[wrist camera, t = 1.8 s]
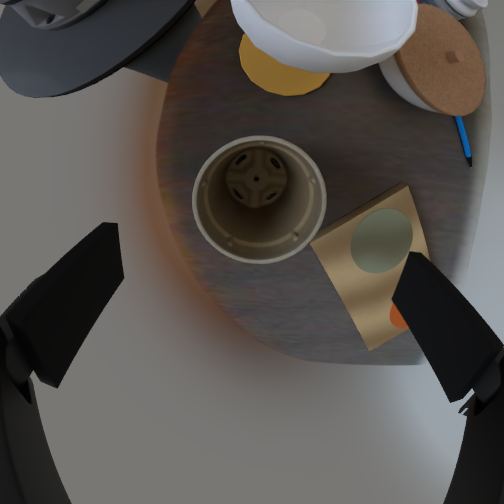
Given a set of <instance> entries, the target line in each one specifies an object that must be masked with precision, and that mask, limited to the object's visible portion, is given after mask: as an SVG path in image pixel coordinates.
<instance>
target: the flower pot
mask: <svg viewBox="0 0 504 504" xmlns="http://www.w3.org/2000/svg"><path fill="white" fill-rule="evenodd" d="M242 155H245V156H246V159H245V160H243V161H241V162H240V163H239V164H238V165H236V164H235V163H236V162H237V160H238V159H239V158H240V157H241V156H242ZM272 158H275V159H276V160H277V162H278V164H279V165H280V168H278V169H277V168H276V167H275V166H274V165H273V163H272V162H271V161H270V160H271V159H272ZM255 177H258V178H259V180H258V181H255ZM233 189H236V191H237V192H238V193H239V194H240V195H241V196H242V197H243V198H242V199H240V198H238V197H237V196H236V195H235V194H234V192H233ZM274 192H275V193H276V194H275V195H274V196H273V197H272V198H271V199H267V197H268V196H270V194H272V193H274ZM326 203H327V194H326V187H325V183H324V180H323V177H322V175H321V173H320V170H319V169H318V167H317V165H316V164H315V162H314V161H313V160H312V159H311V158H310V157H309V155H308V154H307V153H306V152H304V151H303V150H302V149H301V148H299V147H298V146H296V145H294V144H293V143H291V142H289V141H286V140H284V139H280V138H277V137H272V136H249V137H244V138H240V139H237V140H234V141H232V142H230V143H228V144H226V145H224V146H223V147H221V148H220V149H219V150H217V151H216V152H215V153H214V154H213V155H212V156H211V157H210V158H209V159H208V160H207V161H206V162H205V163H204V165H203V166H202V168H201V170H200V171H199V173H198V176H197V178H196V181H195V184H194V188H193V194H192V207H193V213H194V218H195V220H196V223H197V225H198V227H199V229H200V231H201V233H202V234H203V236H204V237H205V238H206V239H207V240H208V242H209V243H210V244H211V245H212V246H214V247H215V248H216V249H217V250H219V251H220V252H221V253H223V254H225V255H226V256H229V257H231V258H233V259H235V260H238V261H242V262H246V263H254V264H266V263H273V262H278V261H280V260H284V259H286V258H288V257H290V256H292V255H295V254H296V253H297V252H299V251H300V250H302V249H303V248H304V247H305V246H306V245H307V244H308V243H309V242H310V241H311V240H312V239H313V237H314V236H315V235H316V233H317V232H318V230H319V228H320V226H321V224H322V222H323V219H324V215H325V212H326Z"/></svg>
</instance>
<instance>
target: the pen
mask: <svg viewBox="0 0 504 504" xmlns="http://www.w3.org/2000/svg"><path fill="white" fill-rule="evenodd" d="M455 119H456V122H457V126H458V129H459V132H460V136H461V139H462V143H463V147H464V151H465V155H466V158H467V160H468V163H469V165H470V167H471V168H472V155H471V151H470V146H469V142H468V139H467V135H466V131H465V128H464V124H463V121H462V118H461V116H455Z"/></svg>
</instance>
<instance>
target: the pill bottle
mask: <svg viewBox="0 0 504 504" xmlns="http://www.w3.org/2000/svg"><path fill="white" fill-rule="evenodd" d="M416 2H417V4H428V5H432V6H435V7H438V8H440V9H442V10H444V11H445V12H447V13H449V14H450V15H452V16H453V17H454V18H455V19H456V20H460V19H464V18H469V17H472V16H474V15H475V14H476V13H477V9H478V10H479V9H483V8H486V7H487V5H488V1H487V0H416Z"/></svg>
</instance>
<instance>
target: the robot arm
mask: <svg viewBox="0 0 504 504" xmlns="http://www.w3.org/2000/svg"><path fill="white" fill-rule="evenodd" d="M107 1H108V0H0V4H4V5H9V6H11V7H12V8H13V9H14V10H15V11H16V12H17V13H18V14H19V15H20V16H22V17H23V18H24V19H25V20H26V21H27V22H28V23H29V24H30V25H31V26H32V27H34V28H37V29H42V30H46V31H57V30H61V29H65V28H67V27H70V26H72V25H74V24H76V23H78V22H80V21H82V20H83V19H85V18H86V17H88V16H89V15H91V14H92V13H94V12H95V11H96V10H98V9H99V8H100V7H101V6H102V5H104V4H105V3H106V2H107ZM123 279H124V273H123V266H122V259H121V250H120V242H119V232H118V224H117V223H108V222H103V223H101V224H100V225H99V226H98V227H96V228H95V229H94V230H93V231H92V232H90V233H89V234H88V235H87V236H86V237H85V238H83V239H82V240H81V241H80V242H79V243H78V244H77V245H75V246H74V247H73V248H72V249H71V250H70V251H69V252H67V253H66V254H65V255H64V256H63V257H62V258H61V259H60V260H59V261H58V262H57V263H56V264H55V265H53V266H52V267H51V268H50V269H49V270H48V271H47V272H46V273H45V274H43V275H42V276H40V277H38V278H37V279H35V280H34V281H33V282H32V283H31V284H30V285H29V286H28V287H27V288H26V290H24V291H23V292H22V293H21V294H20V297H19V296H18V297H17V298H16V299H15V300H14V302H13V303H12V304H11V305H10V306H9V307H8V308H7V309H6V310H5V312H4V313H3V314H2V315H1V316H0V504H72V503H71V501H70V499H69V498H68V495H67V493H66V491H65V489H64V486H63V484H62V482H61V479H60V477H59V474H58V472H57V469H56V466H55V464H54V461H53V458H52V456H51V453H50V450H49V446H48V443H47V440H46V437H45V434H44V430H43V426H42V422H41V419H40V414H39V410H38V406H37V401H36V397H35V391H34V386H33V382H32V380H31V378H30V375H31V373H32V371H33V370H34V372H35V373H36V375H37V377H38V378H39V380H40V381H41V382H43V383H45V384H48V385H50V386H52V387H55V388H58V387H59V385H60V383H61V381H62V379H63V377H64V375H65V374H66V371H67V370H68V368H69V366H70V364H71V362H72V361H73V359H74V357H75V355H76V354H77V352H78V350H79V348H80V347H81V345H82V343H83V342H84V340H85V338H86V337H87V335H88V333H89V331H90V330H91V328H92V327H93V325H94V323H95V322H96V320H97V319H98V317H99V315H100V314H101V312H102V311H103V309H104V307H105V306H106V305H107V303H108V302H109V300H110V298H111V297H112V295H113V294H114V292H115V291H116V290H117V288H118V287H119V285H120V284H121V282H122V281H123ZM391 300H392V302H393V303H394V305H395V306H396V308H397V309H398V311H399V312H400V314H401V316H402V317H403V319H404V320H405V322H406V324H407V325H408V327H409V329H410V330H411V332H412V334H413V335H414V337H415V339H416V340H417V342H418V344H419V345H420V347H421V349H422V351H423V352H424V354H425V356H426V358H427V359H428V361H429V363H430V365H431V367H432V369H433V370H434V372H435V374H436V376H437V378H438V380H439V382H440V384H441V385H442V387H443V390H444V392H445V393H446V395H447V398H448V399H449V401H450V403H451V402H455V401H457V400H460V399H463V398H464V397H465V396H466V394H467V393H468V392H469V391H470V390H471V389H472V388H473V390H474V392H475V393H474V394H473V395H472V396H471V397H470V399H469V400H468V401H467V402H466V403H465V404H464V405H463V406H462V407H461V408H460V410H459V412H458V413H461V412H462V411H463V410H464V409H465V408H468V409H467V410H466V412H465V413H464V414H463V415H465V416H467V420H466V426H465V431H464V436H463V441H462V445H461V449H460V453H459V457H458V461H457V464H456V468H455V471H454V475H453V478H452V481H451V484H450V487H449V490H448V493H447V495H446V498H445V501H444V503H443V504H504V347H503V346H504V345H503V343H502V342H501V341H500V339H499V338H498V337H497V335H496V334H495V333H494V332H493V330H492V329H491V328H490V326H489V325H488V324H487V323H486V322H485V320H484V319H483V318H482V317H481V316H480V314H479V313H478V312H477V311H476V310H475V308H474V307H473V306H472V305H471V304H470V303H469V302H468V300H466V298H465V297H464V296H463V295H462V294H461V293H460V292H459V290H458V289H457V288H456V287H455V286H454V285H453V284H452V283H451V282H450V281H449V280H448V279H447V278H446V277H445V276H444V275H443V274H442V273H441V271H440V270H439V269H438V268H437V267H436V266H435V265H434V264H433V263H432V262H430V261H429V260H428V259H427V258H426V257H425V256H424V255H423V254H422V253H421V252H413V251H409V254H408V257H407V260H406V262H405V265H404V268H403V271H402V273H401V276H400V279H399V281H398V284H397V286H396V289H395V291H394V294H393V296H392V298H391Z"/></svg>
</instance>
